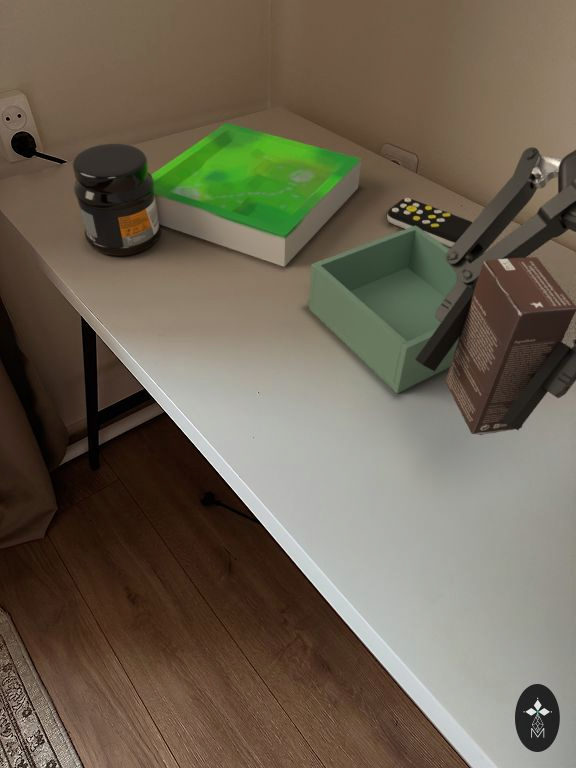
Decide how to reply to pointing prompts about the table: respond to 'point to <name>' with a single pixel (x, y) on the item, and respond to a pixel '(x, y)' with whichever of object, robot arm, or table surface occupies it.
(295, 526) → the table surface
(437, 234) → the remote control
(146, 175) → the supplement container
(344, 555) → the table surface
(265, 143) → the green flat square slab
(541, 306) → the box
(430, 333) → the bin
